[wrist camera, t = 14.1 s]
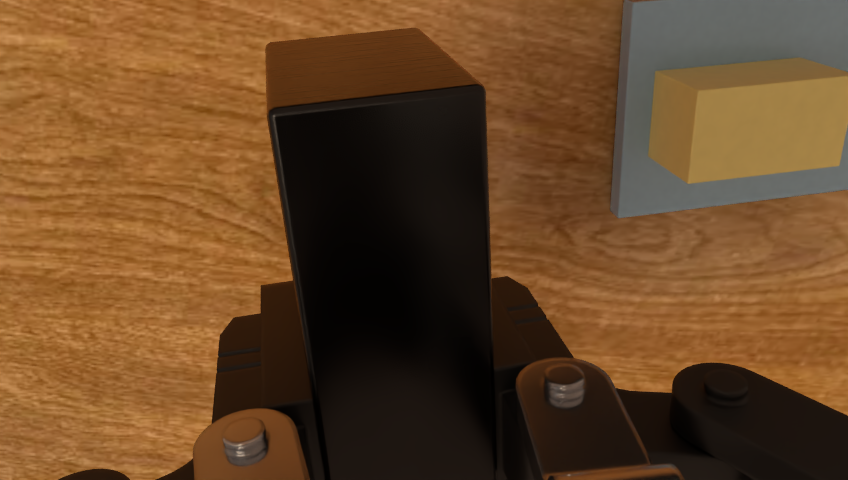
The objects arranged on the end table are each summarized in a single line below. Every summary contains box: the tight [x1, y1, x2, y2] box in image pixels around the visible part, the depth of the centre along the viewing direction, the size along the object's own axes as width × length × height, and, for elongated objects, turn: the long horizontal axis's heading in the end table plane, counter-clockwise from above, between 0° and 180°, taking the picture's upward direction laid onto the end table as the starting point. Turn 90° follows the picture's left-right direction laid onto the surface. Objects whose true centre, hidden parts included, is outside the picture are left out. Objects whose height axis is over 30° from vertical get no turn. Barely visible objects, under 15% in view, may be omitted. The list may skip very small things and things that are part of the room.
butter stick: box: [648, 57, 848, 184], centre depth 26 cm, size 3×6×3 cm, turn 93°
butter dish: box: [610, 0, 848, 218], centre depth 29 cm, size 8×13×1 cm, turn 93°
